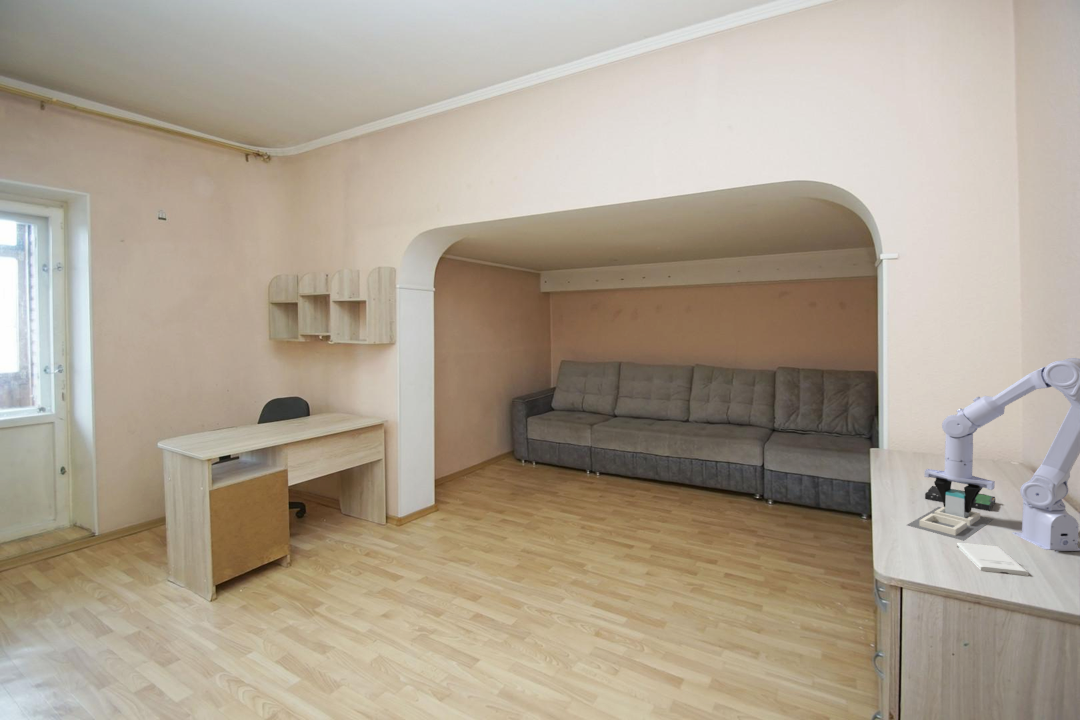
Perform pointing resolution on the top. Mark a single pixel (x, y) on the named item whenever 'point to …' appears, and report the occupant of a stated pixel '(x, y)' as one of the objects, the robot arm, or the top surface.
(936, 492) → the disk drive
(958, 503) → the plug
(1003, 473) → the top surface
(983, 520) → the mat
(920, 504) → the top surface
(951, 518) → the frame
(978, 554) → the external hard drive
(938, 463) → the top surface
